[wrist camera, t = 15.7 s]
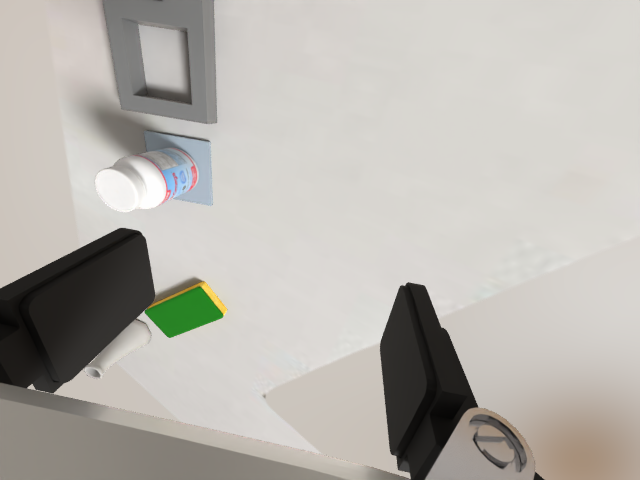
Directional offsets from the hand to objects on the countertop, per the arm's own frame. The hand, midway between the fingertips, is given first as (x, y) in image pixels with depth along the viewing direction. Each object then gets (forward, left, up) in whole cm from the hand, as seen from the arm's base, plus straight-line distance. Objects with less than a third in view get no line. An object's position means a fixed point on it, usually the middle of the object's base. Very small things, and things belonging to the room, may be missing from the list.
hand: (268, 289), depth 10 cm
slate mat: (+5, -21, -28) cm, 36 cm away
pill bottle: (+5, -21, -28) cm, 35 cm away
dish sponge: (+31, -22, -29) cm, 48 cm away
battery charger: (-14, -21, -28) cm, 38 cm away
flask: (+40, -34, -29) cm, 60 cm away
